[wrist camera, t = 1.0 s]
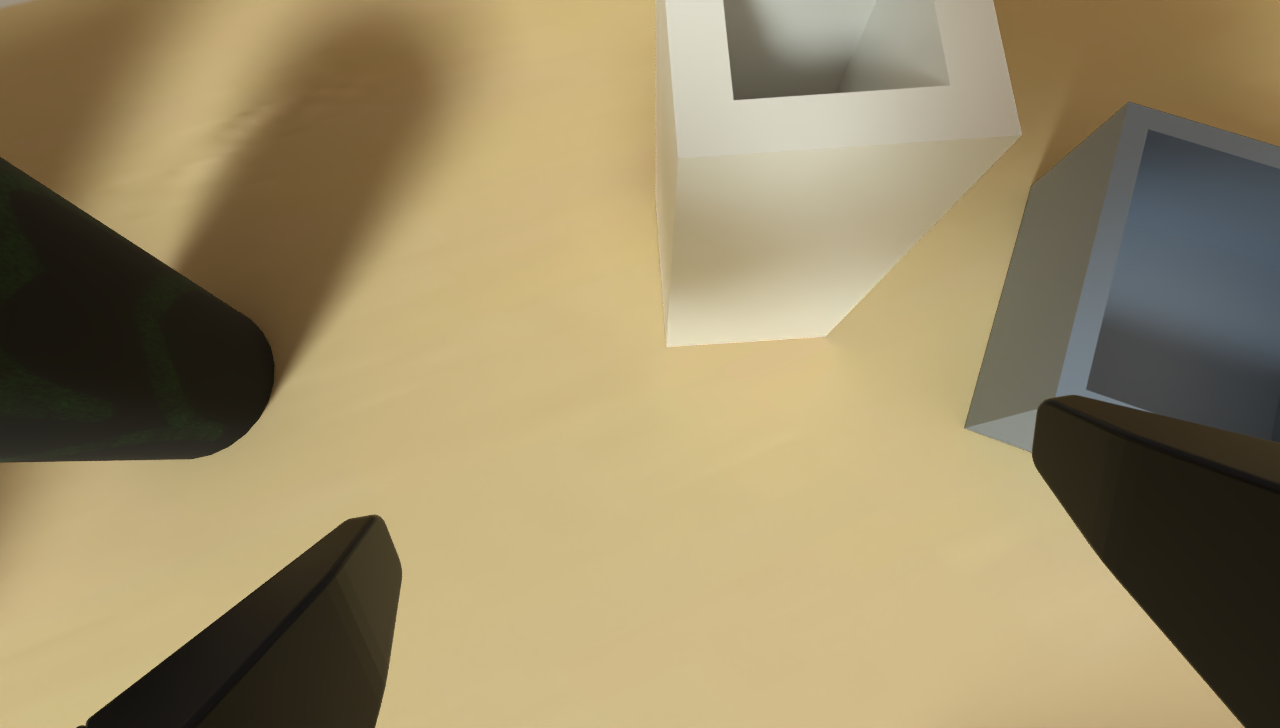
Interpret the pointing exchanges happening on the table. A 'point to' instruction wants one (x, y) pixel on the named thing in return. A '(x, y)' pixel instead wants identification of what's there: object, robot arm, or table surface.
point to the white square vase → (812, 151)
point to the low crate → (1143, 282)
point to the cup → (112, 343)
